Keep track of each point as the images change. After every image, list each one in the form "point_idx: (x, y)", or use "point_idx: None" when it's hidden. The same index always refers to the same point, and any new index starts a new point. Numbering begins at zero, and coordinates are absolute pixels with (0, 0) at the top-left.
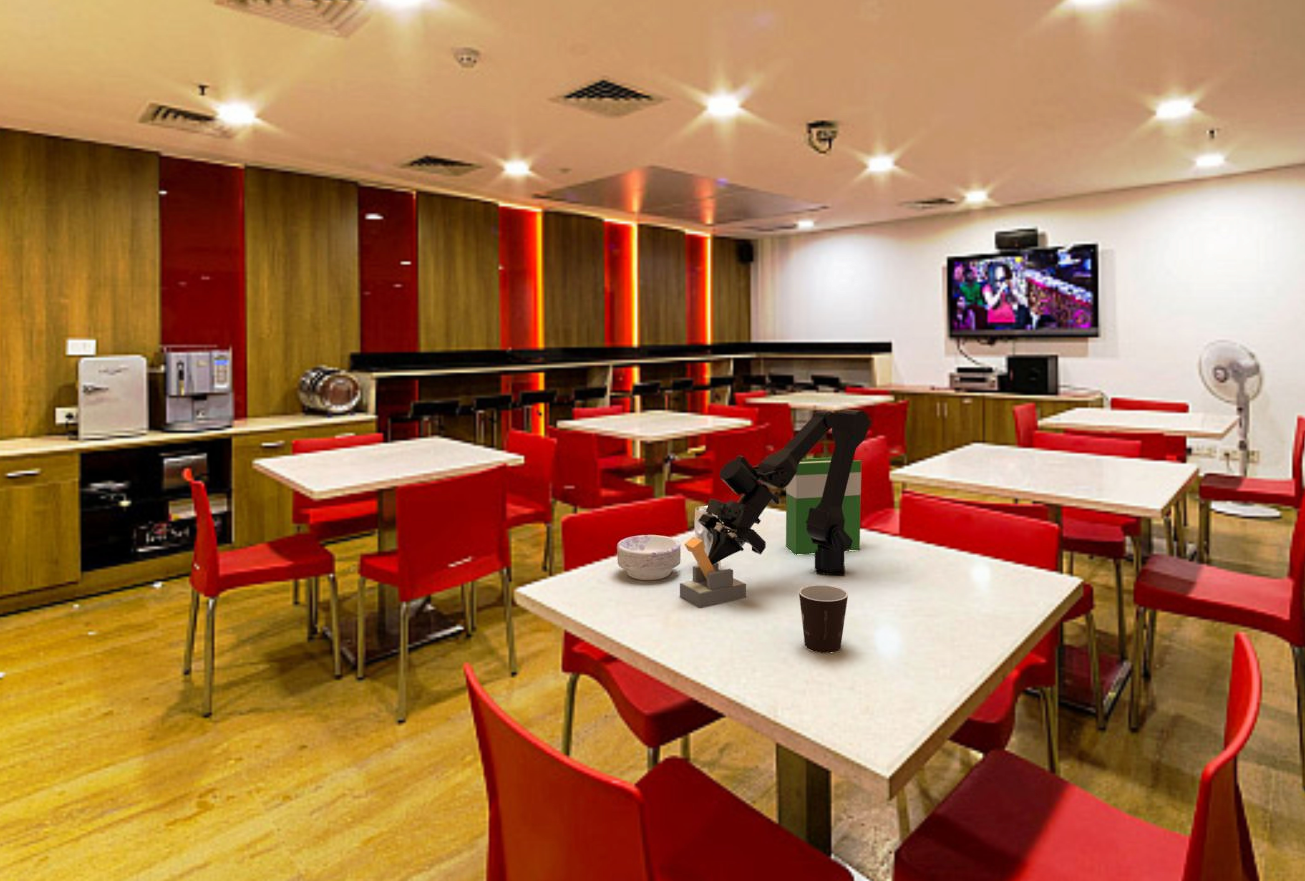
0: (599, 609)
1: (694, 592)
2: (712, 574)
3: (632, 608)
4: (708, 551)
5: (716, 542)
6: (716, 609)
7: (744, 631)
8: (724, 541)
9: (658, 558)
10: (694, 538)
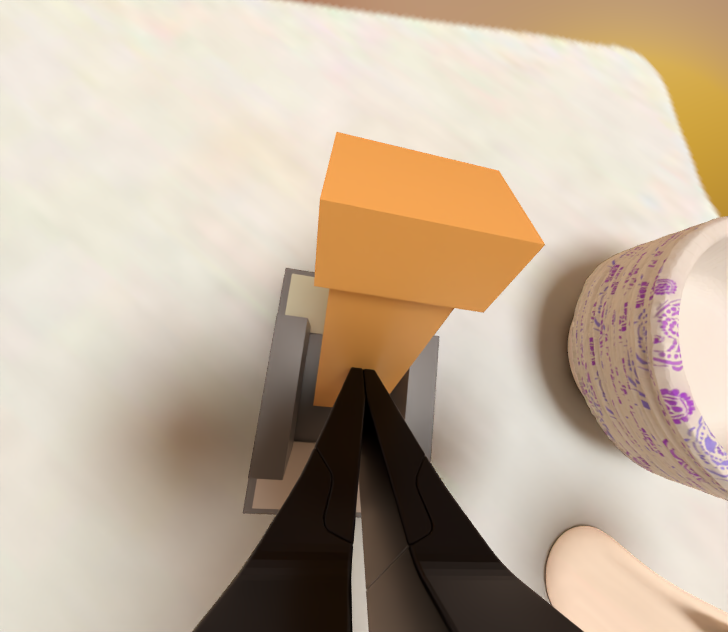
0: (456, 89)
1: None
2: (274, 330)
3: (413, 146)
4: (647, 623)
5: (403, 526)
6: (243, 315)
7: (20, 251)
8: (236, 579)
9: (628, 310)
10: (488, 223)
